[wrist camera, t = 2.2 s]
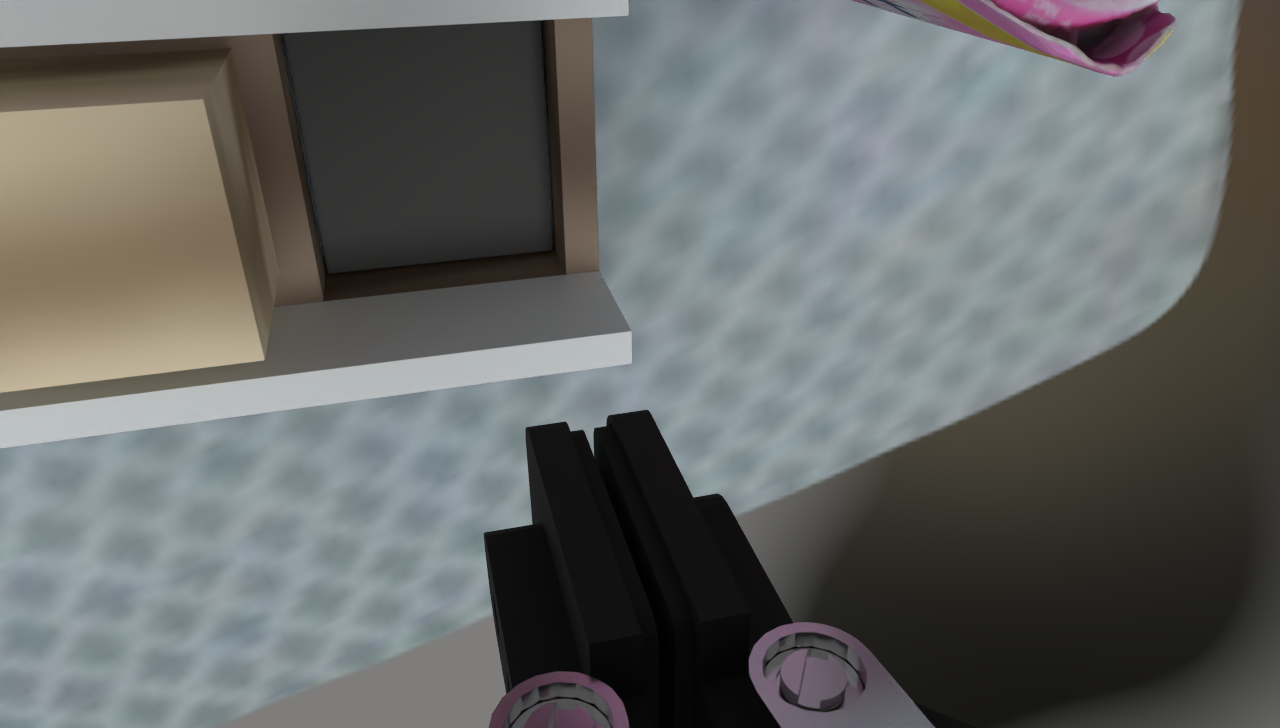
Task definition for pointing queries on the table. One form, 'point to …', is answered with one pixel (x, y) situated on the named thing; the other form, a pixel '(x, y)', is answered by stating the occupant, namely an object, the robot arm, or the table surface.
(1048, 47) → the gum box
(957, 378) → the table surface
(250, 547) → the table surface
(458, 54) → the channel board
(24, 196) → the maple block
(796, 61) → the table surface
